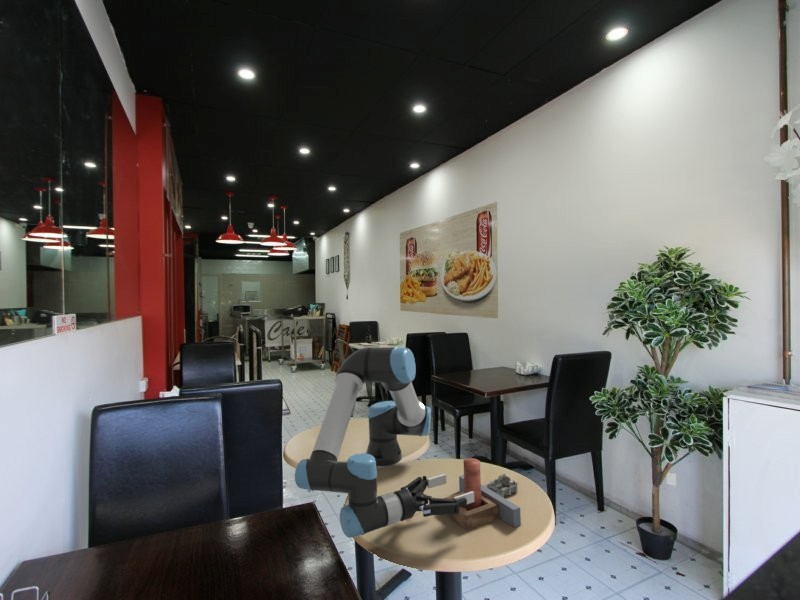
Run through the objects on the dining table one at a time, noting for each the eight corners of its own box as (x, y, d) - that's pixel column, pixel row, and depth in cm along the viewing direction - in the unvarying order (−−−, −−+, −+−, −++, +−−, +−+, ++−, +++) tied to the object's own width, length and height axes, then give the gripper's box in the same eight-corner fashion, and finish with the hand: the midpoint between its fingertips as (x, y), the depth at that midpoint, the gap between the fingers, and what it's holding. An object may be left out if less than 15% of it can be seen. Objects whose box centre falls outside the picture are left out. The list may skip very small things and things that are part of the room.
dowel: (462, 512, 123) (460, 460, 123) (474, 507, 125) (473, 457, 125) (472, 519, 118) (470, 466, 118) (485, 515, 121) (483, 462, 121)
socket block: (442, 511, 124) (442, 498, 124) (473, 501, 129) (472, 488, 129) (467, 530, 113) (466, 516, 113) (498, 517, 119) (498, 504, 119)
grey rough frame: (505, 484, 141) (505, 472, 141) (522, 492, 135) (521, 480, 135) (483, 492, 136) (482, 480, 136) (498, 501, 129) (498, 488, 129)
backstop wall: (459, 490, 137) (459, 476, 137) (465, 489, 138) (464, 474, 138) (514, 527, 114) (513, 509, 114) (520, 524, 115) (520, 507, 115)
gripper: (377, 501, 120) (435, 483, 130) (420, 544, 98) (487, 518, 108) (376, 476, 120) (435, 460, 130) (419, 513, 98) (486, 491, 108)
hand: (458, 487), depth 119 cm, fingers open, 13 cm apart
